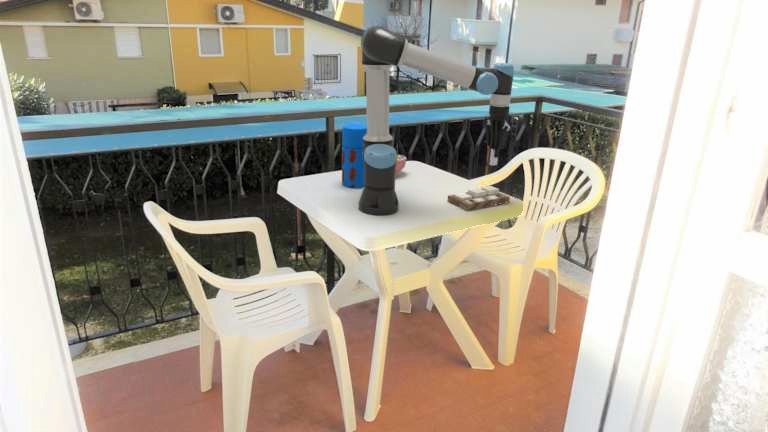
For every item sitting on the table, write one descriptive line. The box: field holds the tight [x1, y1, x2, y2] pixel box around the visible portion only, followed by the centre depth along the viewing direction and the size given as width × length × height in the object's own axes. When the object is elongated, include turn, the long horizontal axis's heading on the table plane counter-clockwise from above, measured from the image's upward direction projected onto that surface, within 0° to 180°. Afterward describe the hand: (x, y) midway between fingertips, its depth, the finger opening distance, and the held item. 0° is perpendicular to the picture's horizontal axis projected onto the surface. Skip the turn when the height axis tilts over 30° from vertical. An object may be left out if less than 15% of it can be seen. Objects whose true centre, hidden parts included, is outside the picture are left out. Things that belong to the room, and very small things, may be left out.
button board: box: [446, 191, 511, 212], centre depth 211 cm, size 22×12×3 cm, turn 122°
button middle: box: [467, 187, 486, 198], centre depth 211 cm, size 5×5×2 cm
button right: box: [480, 185, 500, 196], centre depth 215 cm, size 5×5×2 cm
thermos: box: [341, 123, 367, 189], centre depth 222 cm, size 11×11×25 cm
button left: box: [453, 192, 472, 201], centre depth 208 cm, size 5×5×2 cm
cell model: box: [396, 153, 407, 174], centre depth 241 cm, size 17×20×11 cm
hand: (493, 164), depth 211 cm, fingers closed
